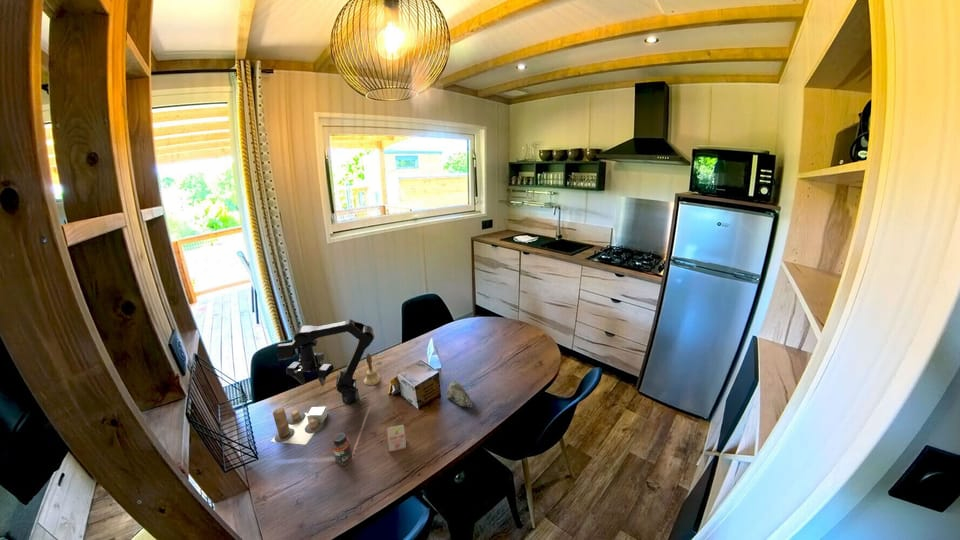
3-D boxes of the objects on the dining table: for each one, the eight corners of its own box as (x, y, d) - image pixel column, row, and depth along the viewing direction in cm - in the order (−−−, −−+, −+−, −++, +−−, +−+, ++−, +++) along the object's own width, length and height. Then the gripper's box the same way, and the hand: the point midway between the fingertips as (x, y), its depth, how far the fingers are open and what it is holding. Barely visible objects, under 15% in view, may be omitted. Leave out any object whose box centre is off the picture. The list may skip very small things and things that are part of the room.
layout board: (331, 416, 146) (330, 409, 144) (309, 447, 130) (307, 439, 129) (294, 413, 148) (292, 406, 146) (268, 443, 132) (266, 435, 131)
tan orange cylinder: (292, 432, 136) (286, 408, 132) (284, 439, 133) (278, 416, 129) (284, 430, 137) (278, 407, 133) (276, 437, 134) (270, 414, 130)
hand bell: (377, 385, 165) (374, 358, 160) (361, 385, 165) (357, 358, 160) (382, 375, 173) (379, 348, 168) (367, 375, 173) (363, 348, 168)
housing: (327, 413, 146) (325, 406, 145) (323, 422, 141) (321, 415, 140) (313, 414, 146) (311, 407, 144) (308, 423, 141) (306, 415, 140)
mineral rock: (473, 410, 148) (472, 392, 145) (449, 414, 146) (448, 396, 143) (467, 391, 160) (467, 374, 157) (445, 395, 158) (444, 378, 155)
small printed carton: (388, 444, 131) (385, 424, 128) (405, 440, 133) (403, 421, 130) (388, 452, 128) (385, 432, 125) (406, 448, 130) (404, 428, 126)
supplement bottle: (346, 450, 129) (342, 427, 125) (355, 457, 126) (351, 434, 122) (332, 461, 124) (327, 438, 121) (341, 469, 121) (337, 445, 117)
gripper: (337, 345, 147) (342, 375, 153) (298, 343, 149) (304, 372, 155) (323, 360, 137) (329, 391, 142) (282, 357, 139) (289, 388, 144)
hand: (313, 385), depth 146 cm, fingers open, 9 cm apart
